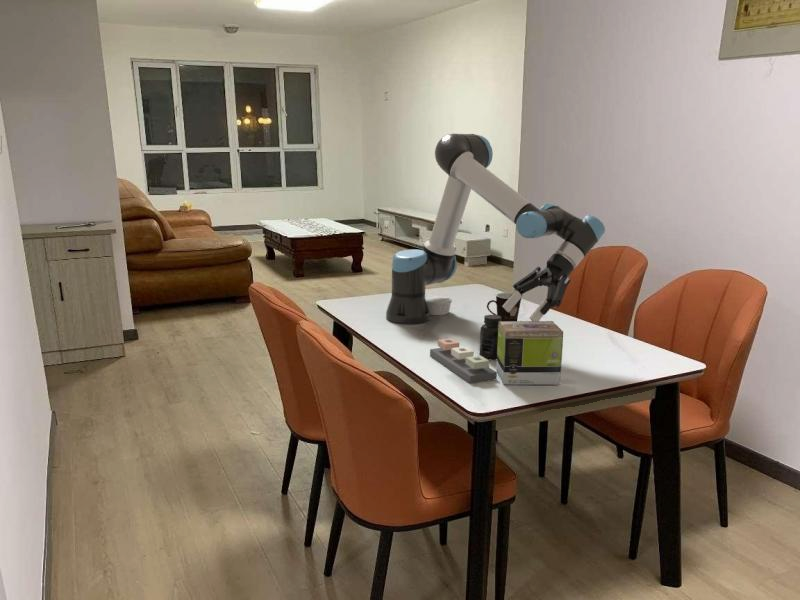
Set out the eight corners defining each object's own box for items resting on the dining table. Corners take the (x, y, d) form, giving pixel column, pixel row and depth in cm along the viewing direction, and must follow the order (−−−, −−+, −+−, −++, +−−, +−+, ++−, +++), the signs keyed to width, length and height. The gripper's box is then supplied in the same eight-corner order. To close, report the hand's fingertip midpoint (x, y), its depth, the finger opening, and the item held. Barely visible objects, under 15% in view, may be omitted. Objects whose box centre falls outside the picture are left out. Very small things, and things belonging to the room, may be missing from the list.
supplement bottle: (484, 351, 189) (487, 312, 186) (506, 355, 185) (508, 315, 183) (475, 357, 183) (477, 317, 180) (497, 361, 180) (499, 321, 177)
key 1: (437, 345, 182) (437, 339, 182) (451, 344, 184) (451, 337, 184) (445, 350, 178) (445, 344, 178) (459, 348, 180) (459, 342, 180)
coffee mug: (518, 321, 221) (520, 293, 219) (520, 328, 213) (522, 299, 211) (485, 319, 222) (486, 291, 220) (485, 326, 214) (487, 297, 212)
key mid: (450, 354, 175) (451, 347, 175) (465, 352, 177) (465, 346, 176) (458, 359, 171) (459, 352, 171) (473, 357, 173) (473, 351, 173)
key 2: (465, 363, 168) (465, 356, 168) (479, 361, 170) (480, 355, 169) (473, 369, 164) (474, 362, 164) (488, 367, 166) (489, 360, 165)
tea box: (549, 372, 173) (554, 320, 169) (560, 386, 163) (565, 331, 159) (495, 371, 172) (498, 319, 168) (502, 385, 162) (505, 330, 159)
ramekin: (446, 318, 224) (447, 303, 222) (416, 314, 227) (417, 300, 226) (454, 310, 234) (454, 296, 233) (425, 307, 237) (425, 293, 236)
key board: (429, 355, 183) (430, 349, 183) (454, 352, 187) (454, 346, 186) (469, 383, 163) (470, 376, 163) (496, 379, 166) (496, 372, 166)
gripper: (600, 277, 177) (552, 334, 174) (545, 261, 199) (501, 312, 196) (586, 259, 173) (537, 317, 171) (532, 245, 195) (488, 297, 193)
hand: (518, 315), depth 184 cm, fingers open, 13 cm apart
